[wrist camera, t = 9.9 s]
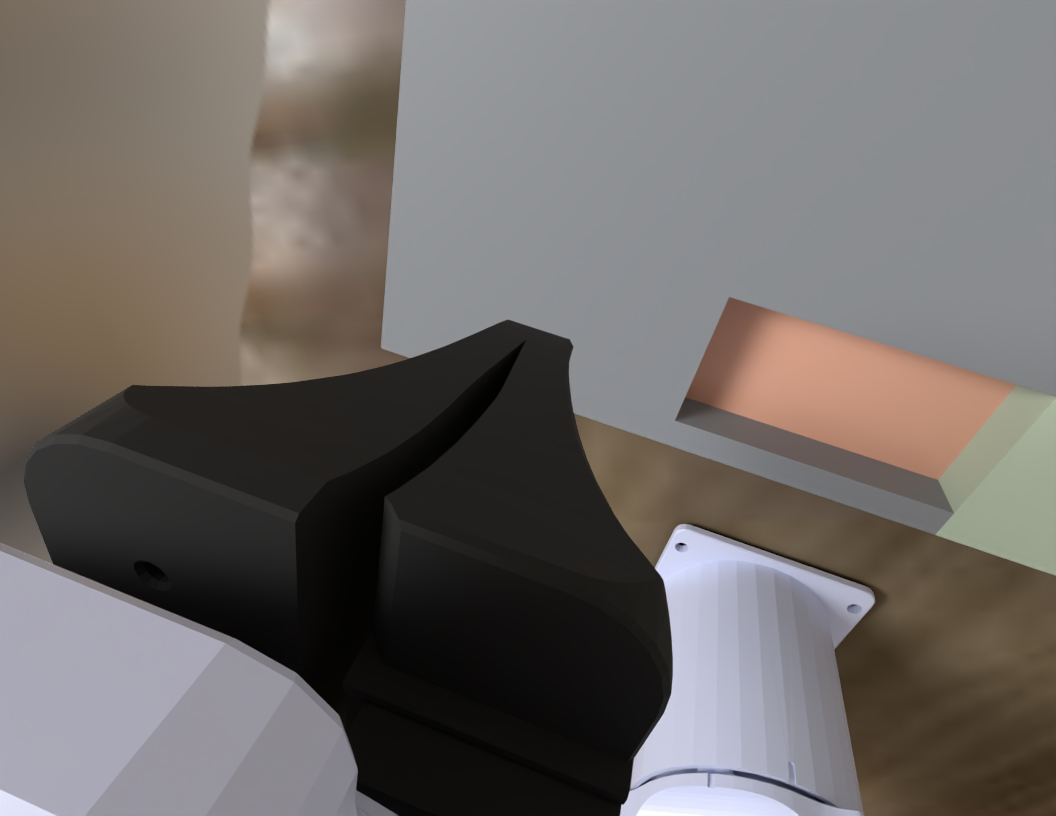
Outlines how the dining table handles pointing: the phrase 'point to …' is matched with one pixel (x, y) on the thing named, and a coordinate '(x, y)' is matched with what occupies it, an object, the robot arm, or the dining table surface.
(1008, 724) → the dining table surface
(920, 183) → the board
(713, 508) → the dining table surface
